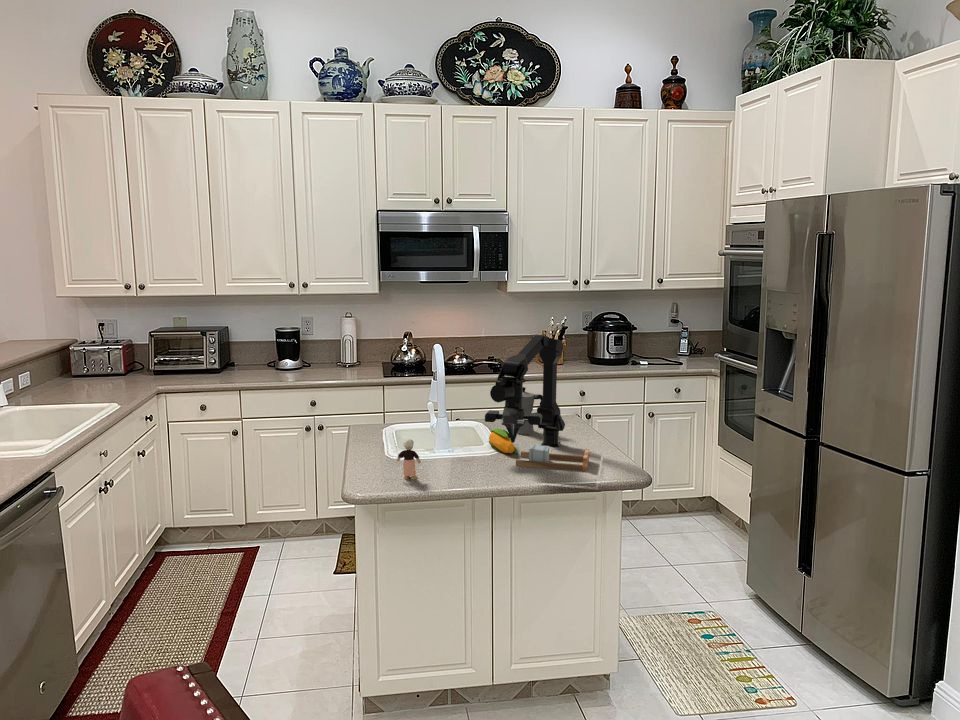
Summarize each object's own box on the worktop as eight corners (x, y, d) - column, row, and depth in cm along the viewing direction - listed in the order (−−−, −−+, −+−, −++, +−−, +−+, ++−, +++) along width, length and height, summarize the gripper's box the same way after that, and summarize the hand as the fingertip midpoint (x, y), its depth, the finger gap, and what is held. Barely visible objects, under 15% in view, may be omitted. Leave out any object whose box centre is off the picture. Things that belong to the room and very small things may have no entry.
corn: (503, 423, 264) (523, 437, 246) (504, 443, 266) (524, 458, 247) (484, 426, 262) (503, 440, 243) (485, 446, 263) (504, 461, 245)
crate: (531, 459, 244) (531, 444, 243) (549, 460, 242) (549, 445, 242) (528, 464, 238) (529, 449, 237) (546, 465, 237) (547, 450, 236)
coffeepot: (503, 433, 280) (503, 388, 277) (510, 427, 289) (511, 383, 286) (541, 437, 275) (542, 391, 272) (547, 431, 284) (548, 386, 281)
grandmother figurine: (421, 476, 227) (421, 437, 225) (420, 480, 223) (420, 440, 221) (396, 476, 227) (396, 437, 225) (395, 480, 223) (395, 440, 221)
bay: (521, 458, 247) (521, 444, 246) (588, 463, 242) (589, 449, 242) (515, 468, 236) (515, 453, 235) (586, 473, 231) (586, 458, 231)
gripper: (481, 400, 233) (480, 447, 235) (538, 403, 229) (537, 451, 231) (488, 393, 244) (487, 438, 246) (542, 396, 240) (541, 441, 242)
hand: (513, 442), depth 241 cm, fingers closed
